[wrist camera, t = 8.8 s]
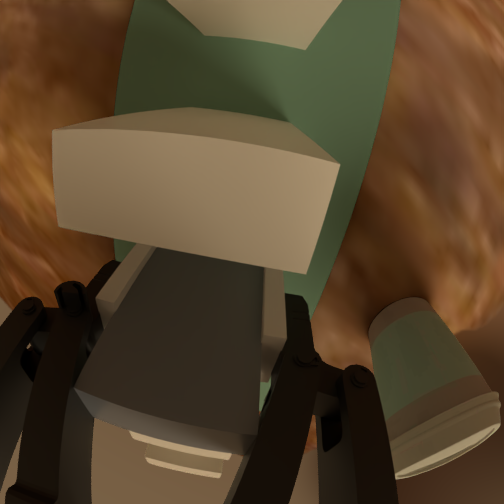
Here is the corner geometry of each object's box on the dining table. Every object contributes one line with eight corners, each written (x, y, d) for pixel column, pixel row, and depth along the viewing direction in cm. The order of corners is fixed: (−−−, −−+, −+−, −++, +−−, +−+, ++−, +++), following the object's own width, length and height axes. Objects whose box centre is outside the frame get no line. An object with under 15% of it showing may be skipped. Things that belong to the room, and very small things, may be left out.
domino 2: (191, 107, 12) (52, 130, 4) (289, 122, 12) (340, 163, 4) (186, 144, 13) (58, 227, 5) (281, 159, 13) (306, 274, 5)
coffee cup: (336, 355, 21) (355, 489, 11) (380, 273, 17) (448, 439, 7) (412, 357, 22) (446, 465, 11) (460, 288, 17) (528, 405, 7)
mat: (165, -71, 6) (163, -74, 5) (400, -37, 6) (403, -39, 6) (140, 383, 26) (139, 386, 26) (265, 408, 27) (265, 411, 26)
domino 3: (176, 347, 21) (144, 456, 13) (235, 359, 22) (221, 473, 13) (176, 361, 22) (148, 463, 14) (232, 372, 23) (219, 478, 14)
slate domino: (171, 224, 14) (73, 387, 5) (265, 242, 14) (257, 435, 6) (170, 256, 15) (92, 416, 6) (257, 273, 15) (245, 454, 7)
